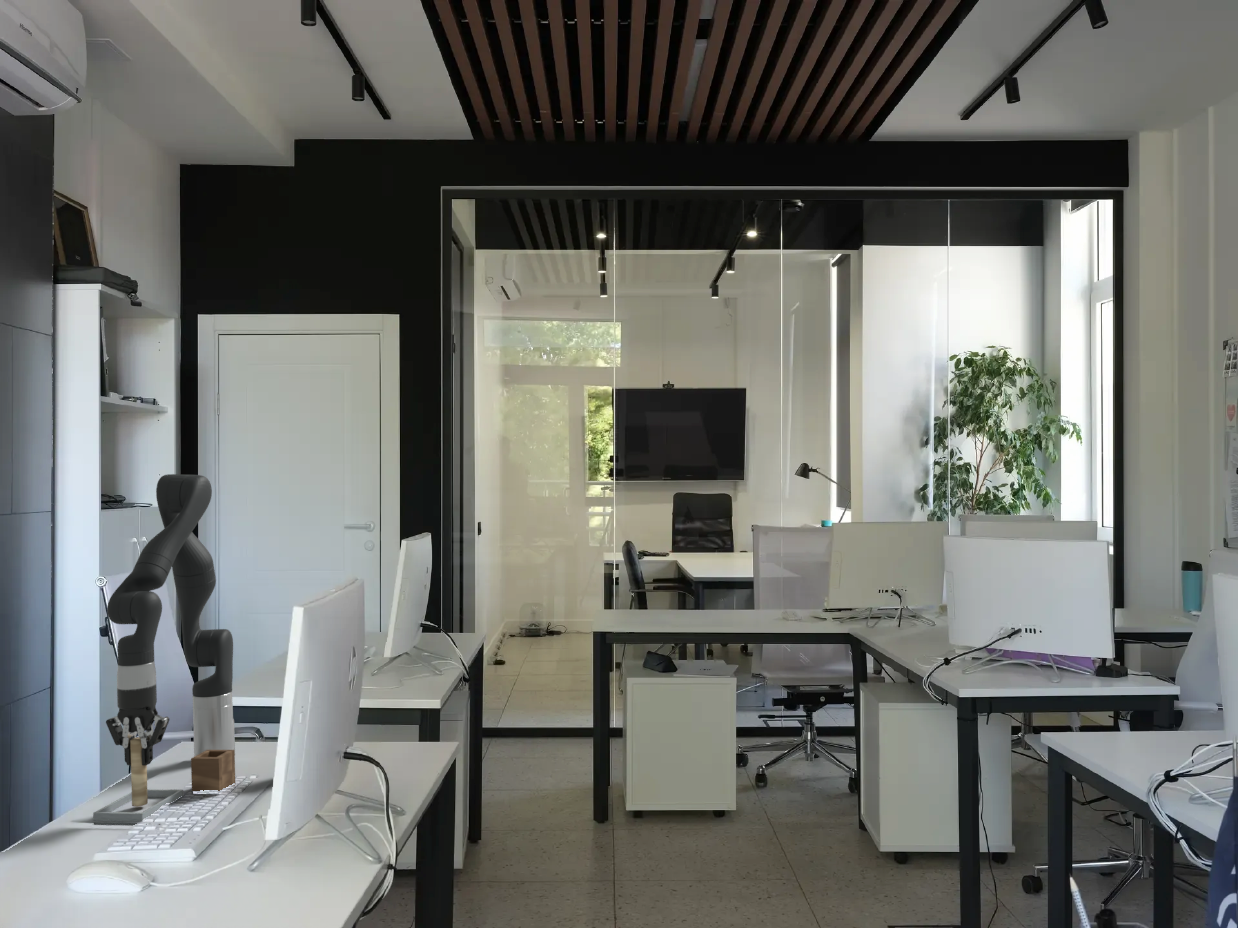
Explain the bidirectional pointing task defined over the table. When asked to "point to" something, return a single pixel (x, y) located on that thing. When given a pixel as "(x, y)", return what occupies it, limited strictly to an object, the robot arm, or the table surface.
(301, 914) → the table surface
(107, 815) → the grey tray
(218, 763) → the walnut holder
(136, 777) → the birch dowel
